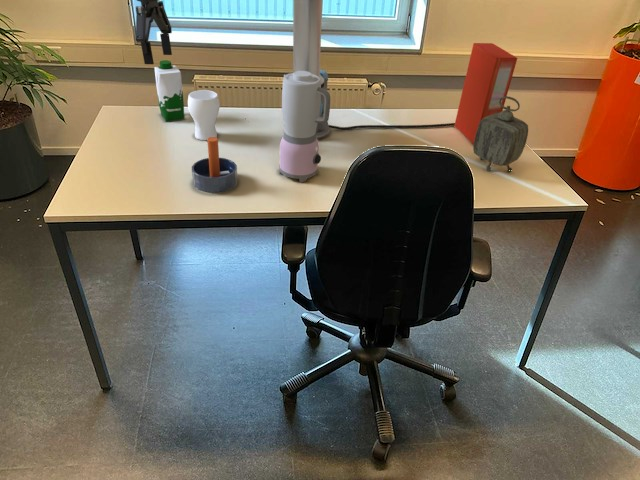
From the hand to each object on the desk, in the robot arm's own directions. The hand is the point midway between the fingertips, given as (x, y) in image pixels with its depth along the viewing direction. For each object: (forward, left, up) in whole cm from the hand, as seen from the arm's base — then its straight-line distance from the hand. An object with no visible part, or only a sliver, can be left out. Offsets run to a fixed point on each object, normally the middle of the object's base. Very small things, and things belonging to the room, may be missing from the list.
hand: (158, 59), depth 168 cm
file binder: (-109, -30, -27) cm, 117 cm away
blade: (-25, +28, -26) cm, 46 cm away
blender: (-50, +16, -27) cm, 59 cm away
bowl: (-25, +28, -27) cm, 46 cm away
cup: (-12, -4, -27) cm, 30 cm away
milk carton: (+5, -17, -27) cm, 32 cm away
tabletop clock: (-112, -3, -27) cm, 116 cm away
